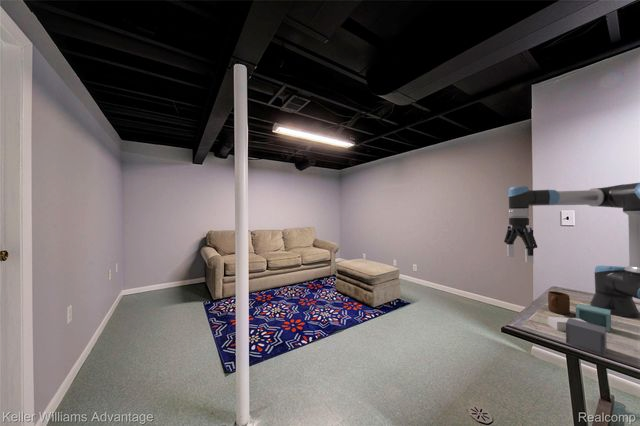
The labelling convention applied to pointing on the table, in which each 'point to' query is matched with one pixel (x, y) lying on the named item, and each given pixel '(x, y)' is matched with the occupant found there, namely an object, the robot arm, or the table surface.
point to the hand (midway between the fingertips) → (519, 259)
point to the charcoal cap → (586, 335)
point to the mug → (559, 302)
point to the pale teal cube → (594, 315)
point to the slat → (559, 322)
